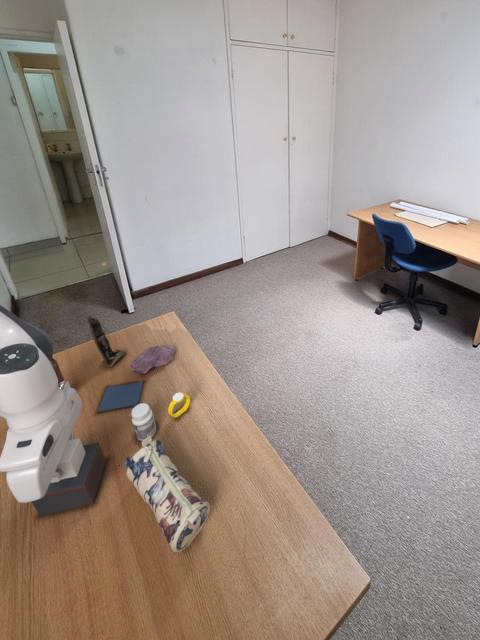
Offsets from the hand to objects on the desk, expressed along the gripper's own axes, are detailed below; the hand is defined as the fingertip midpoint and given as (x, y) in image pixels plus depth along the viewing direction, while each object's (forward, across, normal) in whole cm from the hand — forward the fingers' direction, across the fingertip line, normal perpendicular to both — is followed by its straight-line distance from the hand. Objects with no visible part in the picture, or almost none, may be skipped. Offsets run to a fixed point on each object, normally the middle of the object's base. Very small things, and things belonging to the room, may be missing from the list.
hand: (63, 462), depth 68 cm
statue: (+9, -38, -2) cm, 39 cm away
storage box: (+9, 0, 0) cm, 9 cm away
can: (+9, -25, -13) cm, 30 cm away
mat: (+9, -23, +4) cm, 25 cm away
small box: (+2, 0, 0) cm, 2 cm away
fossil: (+9, -34, +11) cm, 37 cm away
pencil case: (+9, +8, +21) cm, 24 cm away
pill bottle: (+9, -10, +13) cm, 19 cm away
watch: (+9, -14, +21) cm, 27 cm away
